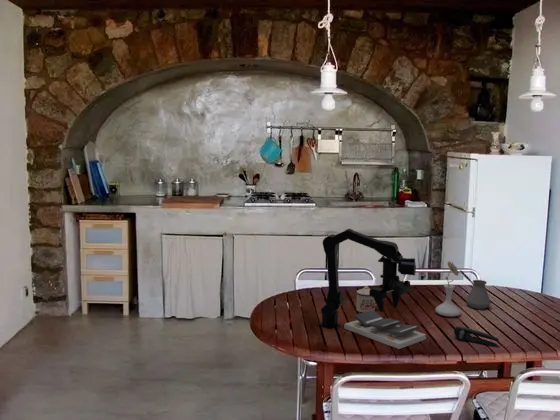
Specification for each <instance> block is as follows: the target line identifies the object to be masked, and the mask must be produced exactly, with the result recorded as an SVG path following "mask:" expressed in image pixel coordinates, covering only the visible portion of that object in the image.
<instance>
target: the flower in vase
mask: <svg viewBox="0 0 560 420" xmlns="http://www.w3.org/2000/svg"><path fill="white" fill-rule="evenodd" d="M447 266H448V268H449V272H448V274H447V276H445V280H446V281H447V284H444V285H443V287H444V289H445V294H446V296H445V300H444V302H442V303H440V304H438V305H437V306H436V307H435V312H436V313H437V314H438V315H441V316H445V317H457V316H459V315H461V313H462V312H461V309H459V307H458V306H456V305H455V303H453V302H452V293H453V290H454V289H455V288H456V286H455V285H453V284H450V283H451V282H454V279H452V280H450V281H449V275H450V274H451V272H452V274H454V275H455V276H456V277H457V276H459V275H460V274H459V272H460V271H459V270H458V269H457V266H456V265H455V264H454V262H452V261H451V260H449V261H447Z"/></svg>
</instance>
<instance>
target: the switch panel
mask: <svg viewBox="0 0 560 420" xmlns="http://www.w3.org/2000/svg"><path fill="white" fill-rule="evenodd" d="M399 326H400V324H398V325H395V326H392V327H389V328H386V329H379V328H375V327H371V326H370V325H369V326H364V325H363V324H362V323H361V322H359V321H358V320H357V319H356V320H353V321H350V322H346V323H344V326H343V327H344V329H345V330H348V331H350V332H353V333H355V334H358V335H361V336H363V337H366V338H368V339H371V340H374V341H377V342H379V343H381V344H384V345H388V347H389V346H390V347H393V348H395V349H397V350H400V349H403V348H405V347H409V346H412V345H415V344H417V343H419V342H423V341H425V340H427V334H425V333H424V332H423V333H422V332H419V331H417V330H414V331H411V332H409V333H406V334H403V335H397V334H390V333H387V330H390V329H393V328H396V327H399Z"/></svg>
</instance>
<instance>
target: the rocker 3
mask: <svg viewBox="0 0 560 420" xmlns="http://www.w3.org/2000/svg"><path fill="white" fill-rule="evenodd" d="M419 329H420V326H419V325H410V324H401V325H399V327H396V328H393V329H390V330H387V333H390V334H397V335H403V334H406V333H409V332H411V331H417V330H419Z"/></svg>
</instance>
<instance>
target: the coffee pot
mask: <svg viewBox="0 0 560 420" xmlns="http://www.w3.org/2000/svg"><path fill="white" fill-rule="evenodd" d="M459 272H460V273H458V274H459V275H460V274H462V275H463V277H464V278H465V279H466V280H468V281H469V282H470V283H471V285H472V287H471V290H470V291H469V293H468V295H467V297H466V299H465V302H466V304H467V305H468V306H469V307H470V308H471V309H475V310H485V309H487V308H489V307H490V305H491V304H492V303H491V299H490V297H489V293H488V291H487V287H486V285H487V281H486V280H481V279H474V280H471V278H470V277H469V276H468V275H467V274H465V272H464V271H462V270H459Z"/></svg>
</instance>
